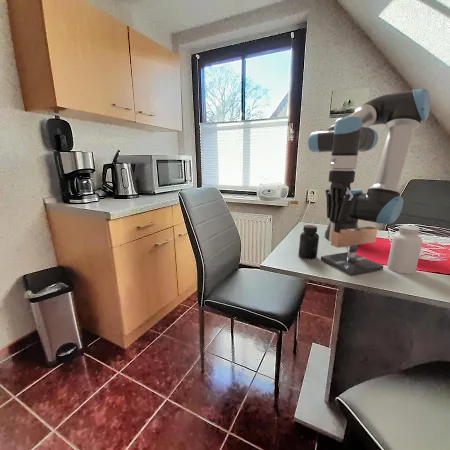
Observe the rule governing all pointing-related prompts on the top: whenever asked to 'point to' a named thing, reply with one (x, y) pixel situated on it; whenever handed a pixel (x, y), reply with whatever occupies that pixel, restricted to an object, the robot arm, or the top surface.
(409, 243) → the pill bottle
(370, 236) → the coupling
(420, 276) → the top surface
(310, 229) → the supplement bottle
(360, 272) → the post base
